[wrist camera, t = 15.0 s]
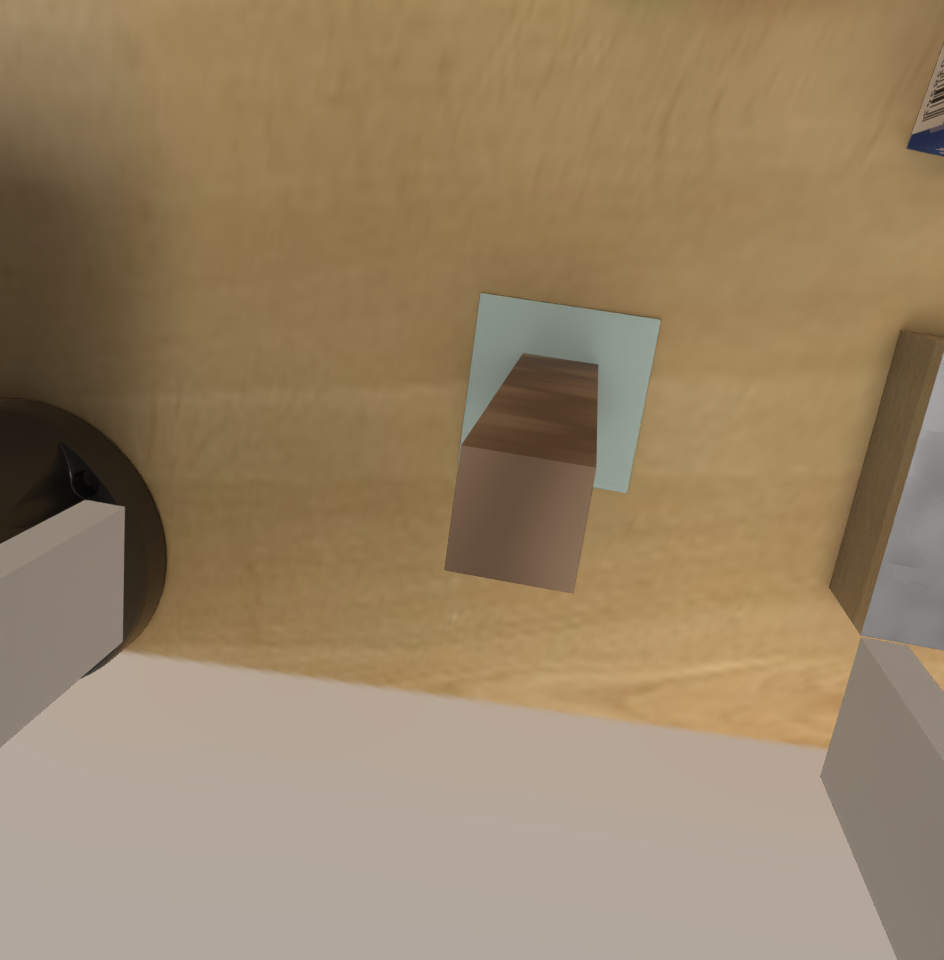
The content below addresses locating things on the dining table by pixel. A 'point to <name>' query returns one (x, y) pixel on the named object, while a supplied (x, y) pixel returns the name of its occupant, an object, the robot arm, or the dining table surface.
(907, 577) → the box
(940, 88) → the beverage box
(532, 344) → the pad
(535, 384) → the brown wooden bar
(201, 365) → the dining table surface
